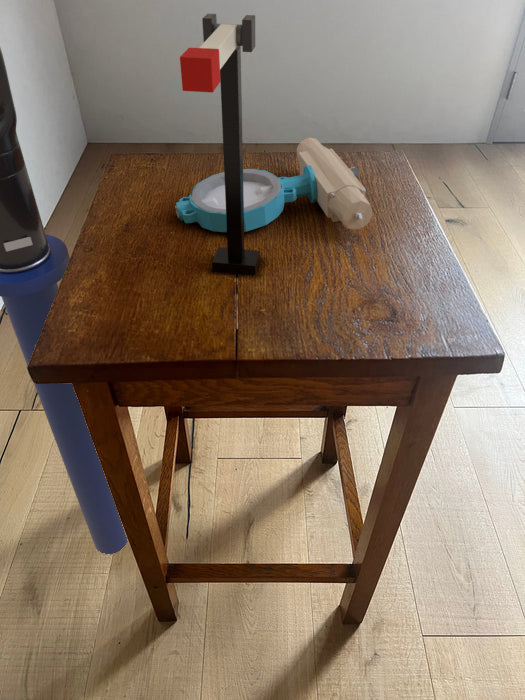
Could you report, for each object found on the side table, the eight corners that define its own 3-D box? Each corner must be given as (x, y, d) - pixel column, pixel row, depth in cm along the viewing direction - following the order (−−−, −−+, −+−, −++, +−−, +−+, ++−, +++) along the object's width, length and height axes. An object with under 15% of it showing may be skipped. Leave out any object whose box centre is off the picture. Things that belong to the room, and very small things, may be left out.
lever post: (212, 271, 78) (196, 19, 58) (218, 256, 81) (205, 11, 61) (255, 275, 77) (254, 22, 57) (259, 259, 80) (260, 13, 60)
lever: (182, 91, 50) (179, 56, 48) (219, 46, 62) (218, 17, 60) (213, 92, 50) (211, 58, 48) (244, 47, 61) (243, 18, 60)
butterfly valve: (191, 279, 81) (389, 236, 84) (181, 237, 76) (391, 194, 79) (173, 196, 101) (333, 163, 103) (164, 159, 96) (333, 126, 99)
